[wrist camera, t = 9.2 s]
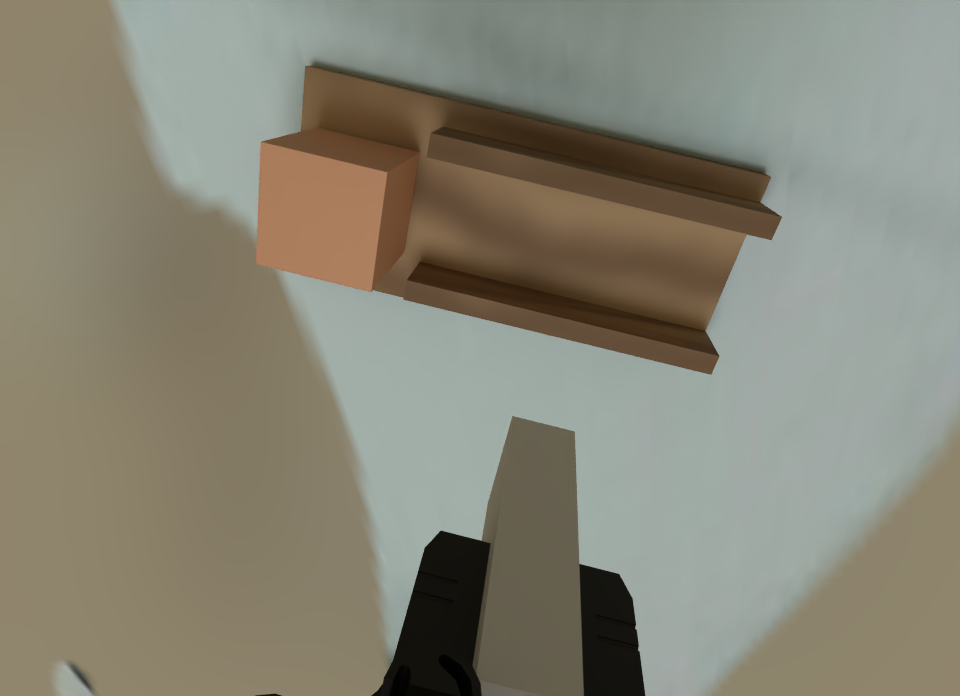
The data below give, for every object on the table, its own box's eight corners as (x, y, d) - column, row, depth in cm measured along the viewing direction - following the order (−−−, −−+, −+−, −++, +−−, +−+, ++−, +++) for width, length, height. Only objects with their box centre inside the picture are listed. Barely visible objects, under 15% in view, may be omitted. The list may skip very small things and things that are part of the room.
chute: (312, 66, 33) (277, 65, 29) (765, 174, 33) (794, 189, 28) (297, 265, 38) (267, 288, 34) (686, 360, 38) (701, 395, 34)
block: (316, 127, 33) (260, 141, 27) (419, 152, 33) (387, 172, 27) (309, 229, 36) (256, 264, 30) (404, 252, 36) (371, 291, 30)
